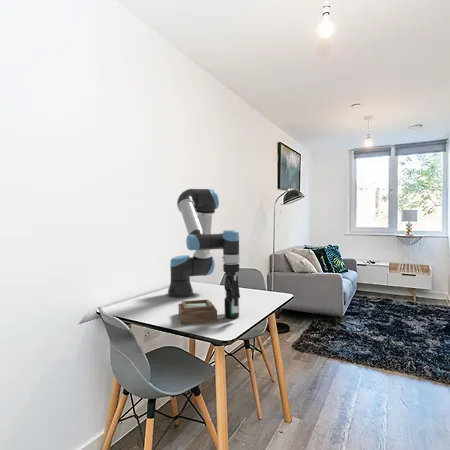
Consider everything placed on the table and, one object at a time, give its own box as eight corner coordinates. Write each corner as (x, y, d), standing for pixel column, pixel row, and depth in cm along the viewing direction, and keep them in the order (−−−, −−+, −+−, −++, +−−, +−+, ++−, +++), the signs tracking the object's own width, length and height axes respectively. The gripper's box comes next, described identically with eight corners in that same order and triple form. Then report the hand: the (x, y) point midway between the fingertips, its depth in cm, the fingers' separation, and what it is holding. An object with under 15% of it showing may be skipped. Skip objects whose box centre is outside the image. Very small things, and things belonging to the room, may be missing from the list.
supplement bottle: (236, 319, 144) (236, 293, 144) (222, 318, 146) (222, 292, 146) (241, 315, 150) (240, 290, 150) (227, 313, 153) (227, 289, 153)
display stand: (178, 313, 154) (178, 300, 154) (211, 311, 157) (210, 298, 157) (181, 324, 138) (181, 309, 138) (217, 321, 142) (217, 307, 142)
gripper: (218, 260, 159) (218, 302, 160) (229, 267, 135) (230, 317, 135) (232, 259, 161) (233, 301, 161) (246, 266, 136) (247, 315, 137)
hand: (231, 308), depth 148 cm, fingers open, 13 cm apart
